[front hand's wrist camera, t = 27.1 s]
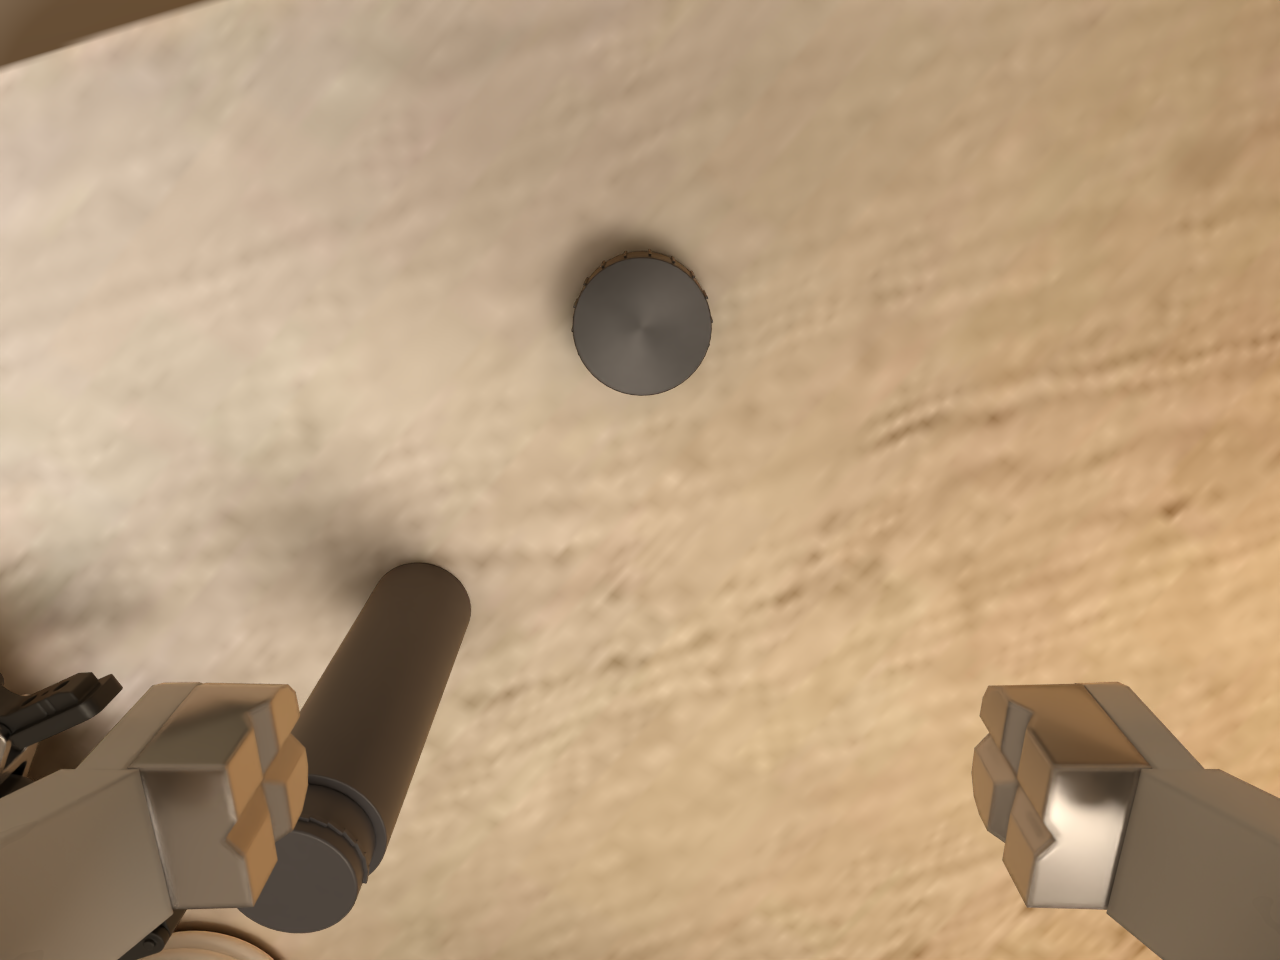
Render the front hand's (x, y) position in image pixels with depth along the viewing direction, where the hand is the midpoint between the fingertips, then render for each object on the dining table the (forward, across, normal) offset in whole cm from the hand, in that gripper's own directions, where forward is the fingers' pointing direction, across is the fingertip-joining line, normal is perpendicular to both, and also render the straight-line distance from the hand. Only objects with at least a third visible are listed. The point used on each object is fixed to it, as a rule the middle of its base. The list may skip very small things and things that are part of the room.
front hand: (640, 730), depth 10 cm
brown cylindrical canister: (+27, +10, +13) cm, 32 cm away
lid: (+26, 0, 0) cm, 26 cm away
